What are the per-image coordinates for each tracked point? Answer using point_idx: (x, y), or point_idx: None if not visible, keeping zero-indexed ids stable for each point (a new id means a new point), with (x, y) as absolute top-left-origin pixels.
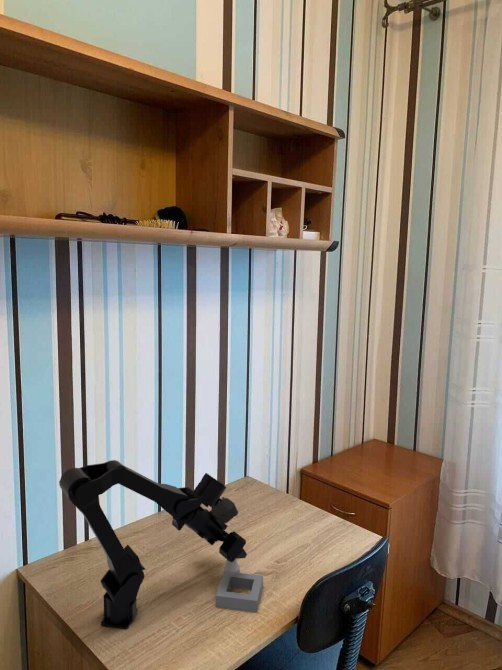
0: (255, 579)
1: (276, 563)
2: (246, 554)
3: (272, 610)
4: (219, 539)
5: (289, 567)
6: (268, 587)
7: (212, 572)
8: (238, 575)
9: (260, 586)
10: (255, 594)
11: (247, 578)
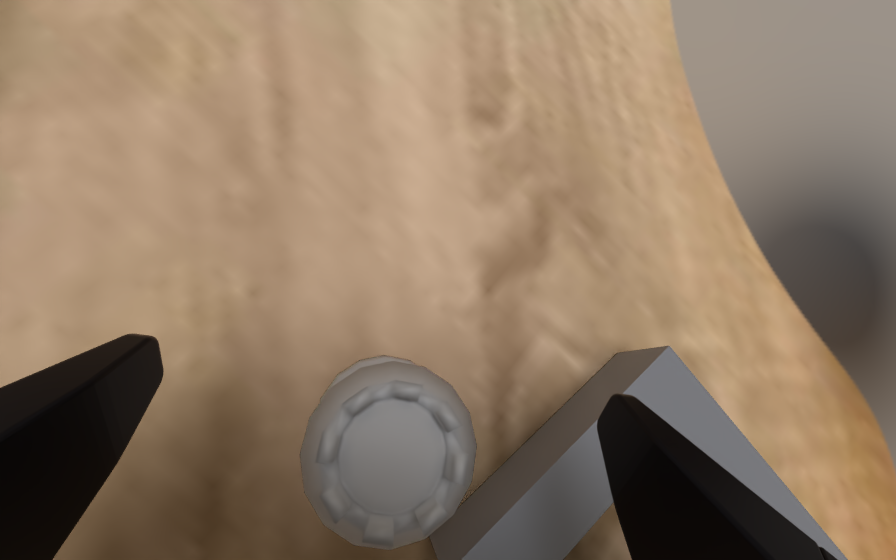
0: (676, 424)
1: (494, 133)
2: (644, 411)
3: (802, 463)
4: (71, 509)
5: (565, 116)
6: (639, 332)
7: (263, 542)
8: (567, 506)
9: (759, 455)
10: None
11: None
